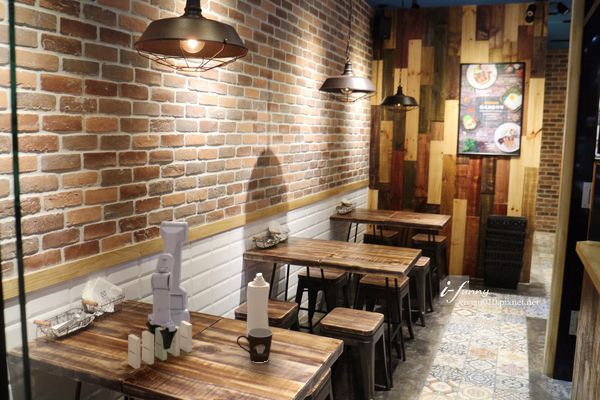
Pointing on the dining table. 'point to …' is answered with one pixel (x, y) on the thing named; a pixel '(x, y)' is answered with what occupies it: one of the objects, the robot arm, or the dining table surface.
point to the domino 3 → (159, 345)
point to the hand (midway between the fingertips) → (161, 345)
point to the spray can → (257, 303)
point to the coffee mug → (258, 344)
